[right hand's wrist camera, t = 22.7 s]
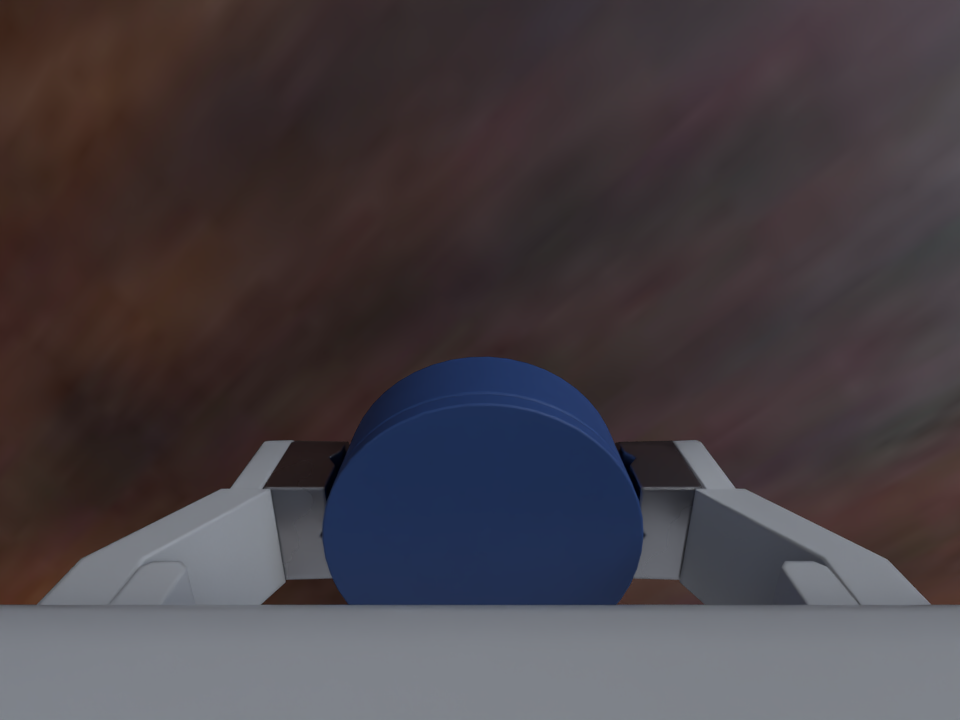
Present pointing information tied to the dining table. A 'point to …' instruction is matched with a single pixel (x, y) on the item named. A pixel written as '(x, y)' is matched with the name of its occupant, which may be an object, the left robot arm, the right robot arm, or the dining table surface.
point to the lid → (482, 494)
